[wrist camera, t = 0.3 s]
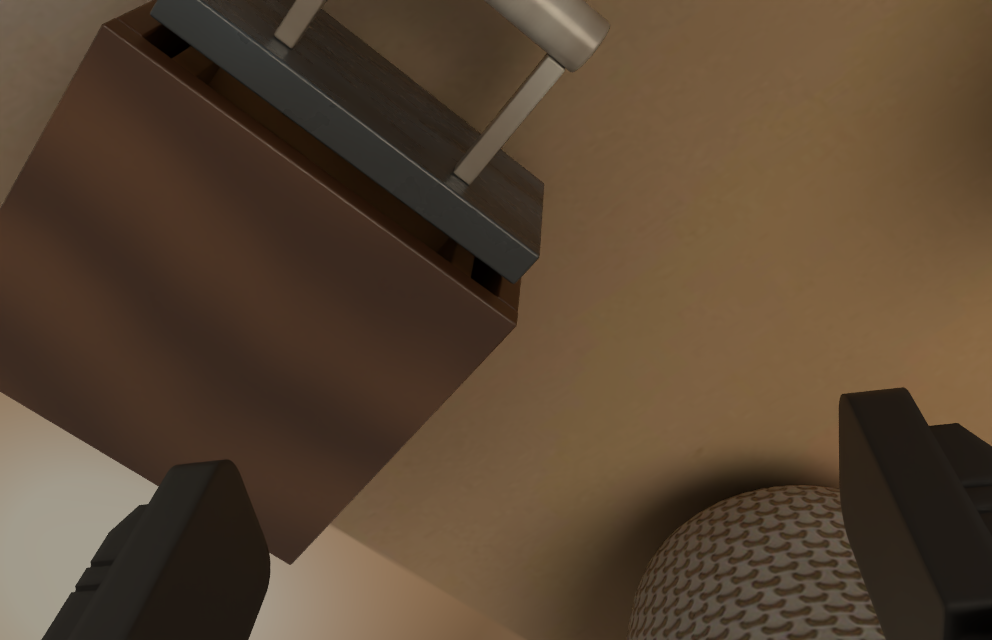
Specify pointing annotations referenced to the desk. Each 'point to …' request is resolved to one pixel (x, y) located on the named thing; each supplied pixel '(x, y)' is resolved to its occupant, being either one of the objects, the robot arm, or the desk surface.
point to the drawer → (389, 116)
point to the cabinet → (222, 294)
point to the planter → (757, 573)
